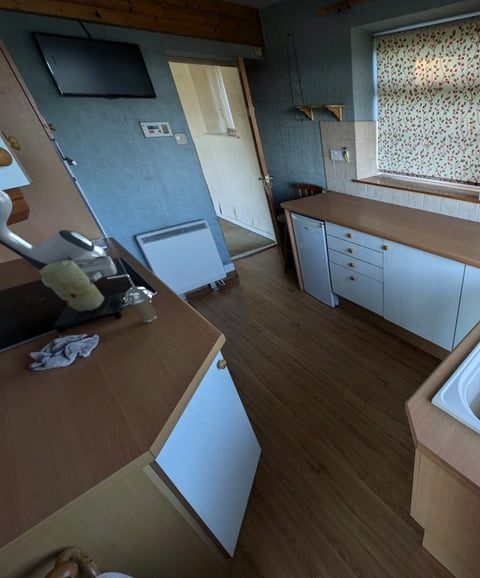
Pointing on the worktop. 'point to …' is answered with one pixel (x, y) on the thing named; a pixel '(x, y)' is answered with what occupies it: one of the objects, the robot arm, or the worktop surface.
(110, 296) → the low black rectangular block
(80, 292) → the food model
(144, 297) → the cup with straw
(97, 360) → the worktop surface
